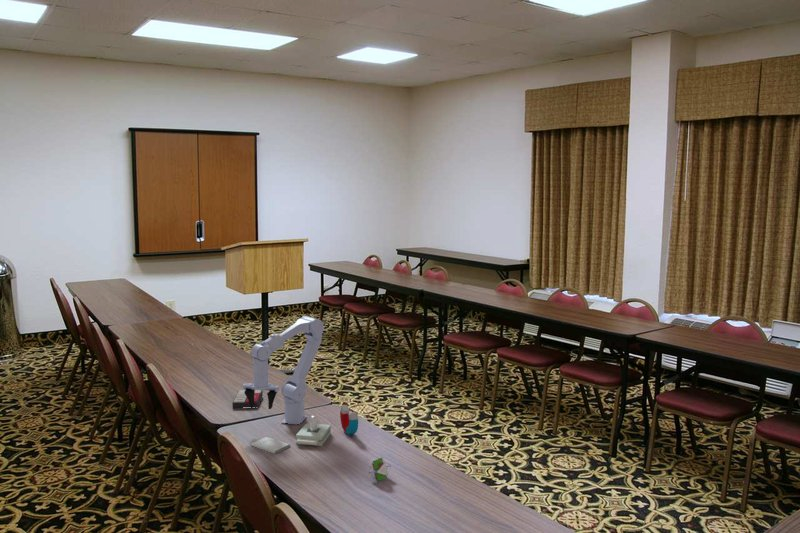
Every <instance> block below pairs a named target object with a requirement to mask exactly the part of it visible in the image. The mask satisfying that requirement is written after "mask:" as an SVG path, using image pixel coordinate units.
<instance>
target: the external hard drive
mask: <svg viewBox="0 0 800 533" xmlns="http://www.w3.org/2000/svg"><path fill="white" fill-rule="evenodd" d="M251 445H253V446H255V447H257V448H256V449H258V448H260V449H259V450H261V449H263V450H262V451H264V450H265V451H264V452H267V451H268V453H270V452H271V453H270V454H273V453H274V455H276V454H278V453H279V452H282V451H284V450H286V449H288V448H289V447H291V444H290V443H287V442H283V441H282V440H277V439H274V438H270V437H268V436H265V437H262V438H261V439H257V440H256V441H253V442H252V443H250V446H251ZM255 447H254V448H255ZM277 452H278V453H277ZM275 453H276V454H275Z"/></svg>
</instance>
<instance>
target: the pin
mask: <svg viewBox="0 0 800 533" xmlns="http://www.w3.org/2000/svg"><path fill="white" fill-rule="evenodd" d="M309 423H310V432H316V433H318V431H317V424H318V415H316V414H314V415H313V414H312V415H309Z"/></svg>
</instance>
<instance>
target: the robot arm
mask: <svg viewBox="0 0 800 533" xmlns="http://www.w3.org/2000/svg"><path fill="white" fill-rule="evenodd" d="M324 330H325V326H324V323H323V321H322V320H321V319H318V318H315V317H310V316H309V315H303V316H302V317H300V318H298V319H297V320H296V322H295V323H293V324H292V325H291V326H289V327H288V328H286V329H285V330H284V331H282V332H280V333H279V334H278V333H275V334H274V333H272V334H271V335H270V337H268V338H267V339H265V340H262V341H261V342H260V343H255V344H254V345H253V346H252V347H251V349H250V351H249V355H250V356H251V358H252V372H253V375H252V376H253V383H252V382H251V383H250V382H249V383H246V382H245V383H243V385H242V390H245V392H244V393H245V395H246V396H247V398H248V400H249V403H250V407H251V408H250V409H253V408H252V407H254V393H255V390H262V391H266V392H267V391H268V392H267V393H266V396H267V399H268V400H267V401H268V410H271V409H273V405H274V401H275V398H276V397H277V396H276V395H277V394H278V392H279V391H280V393H281V395H282V396H283V399H284V419H283V420H282V421H281V422H280V423H281V424H285V423H288V424H289V425H297V424H299V425H301V424H302V423H303V422H304V421H305V420H306V418H307V417H308V415H305V414H306V413H305V409H306V408H305V406H306V405H305V400H304V398H305V397H306V390H307V387H308V386H307V382H306V379H307V376H308V374H309V371H310V370H311V368H312V364H313V363H314V360H315V358H316V355H317V353H318V350H319V348H320V346H321V343H322V338H323V332H324ZM300 333H301V334H302V333H303V335H305V338H306V343H305V346H304V348H303V351H302V352H301V355H300V357H299V360H298V363H297V364H296V367H295V369H294V372H293V374H292V375H291V376H289V377H288V378H287V379H286V381H285V383H283V385H282V386H281V389H280V385H278V384H277V385H276V384H271V383H269V359H270V357H271V355H272V354H273V353H275V352H276V351H277V350H279V349H280V348H282V347H283V346H284V344H285V342H286V341H288V340H290V339H291V338H292V337H295V336H297V335H299V334H300ZM300 423H301V424H300ZM288 424H287V425H288Z"/></svg>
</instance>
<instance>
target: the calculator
mask: <svg viewBox="0 0 800 533" xmlns="http://www.w3.org/2000/svg"><path fill="white" fill-rule="evenodd" d="M245 390H246V389H245ZM245 390H244V389H240V390H237V394H236V395H235V397H234V399H233V401H232V409H233V408H243V407H250V403H249V400H248V398H247V396H246V395H245V393H244V392H245ZM263 392H264V390H255V393H254V407H258V405H259V403H260V404H261V402H262V400H261V398H262V396H263V395H264V394H263ZM262 399H263V398H262ZM260 401H261V402H260ZM259 406H260V405H259ZM258 408H259V407H258Z"/></svg>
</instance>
